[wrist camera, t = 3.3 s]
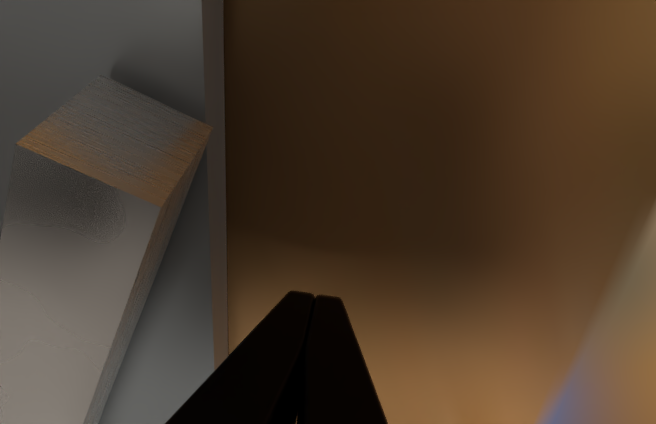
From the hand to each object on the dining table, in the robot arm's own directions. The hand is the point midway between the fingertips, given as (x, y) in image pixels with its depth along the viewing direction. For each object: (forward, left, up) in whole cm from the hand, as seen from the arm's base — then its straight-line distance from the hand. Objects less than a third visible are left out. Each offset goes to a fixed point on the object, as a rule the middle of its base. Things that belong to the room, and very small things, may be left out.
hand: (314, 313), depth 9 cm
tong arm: (-3, +5, 0) cm, 6 cm away
